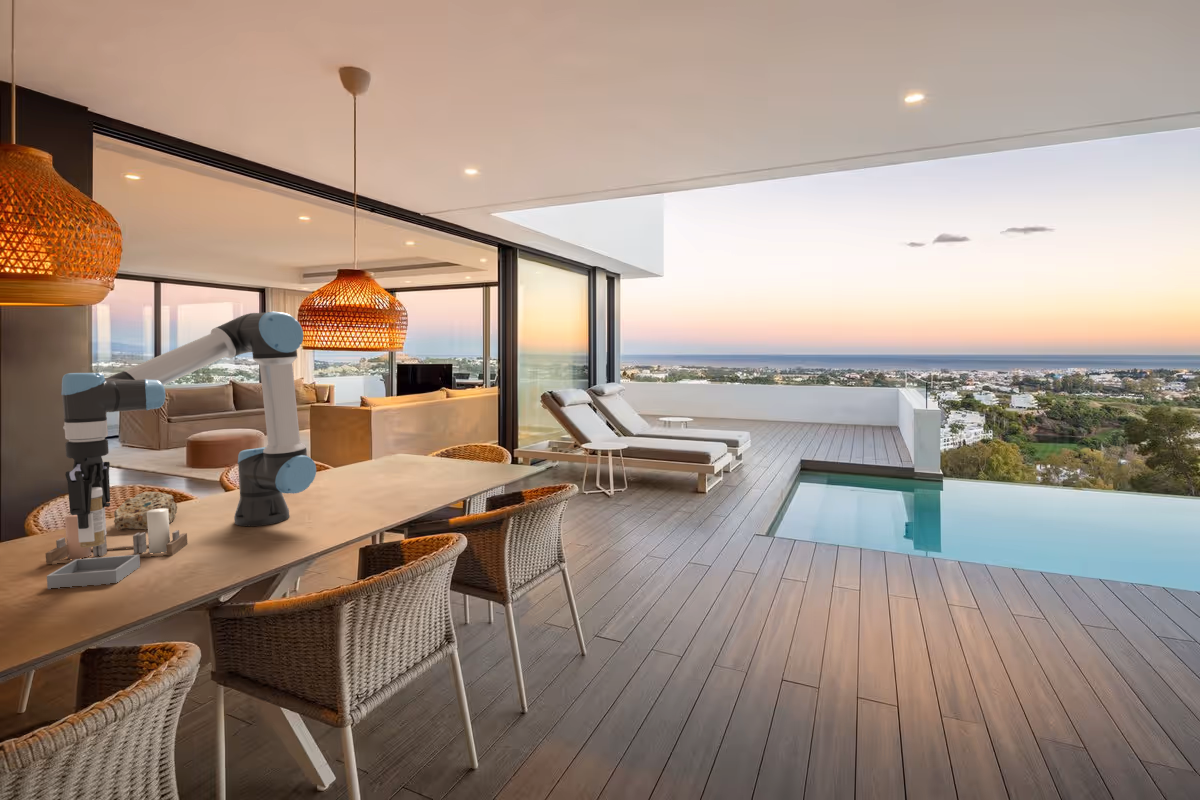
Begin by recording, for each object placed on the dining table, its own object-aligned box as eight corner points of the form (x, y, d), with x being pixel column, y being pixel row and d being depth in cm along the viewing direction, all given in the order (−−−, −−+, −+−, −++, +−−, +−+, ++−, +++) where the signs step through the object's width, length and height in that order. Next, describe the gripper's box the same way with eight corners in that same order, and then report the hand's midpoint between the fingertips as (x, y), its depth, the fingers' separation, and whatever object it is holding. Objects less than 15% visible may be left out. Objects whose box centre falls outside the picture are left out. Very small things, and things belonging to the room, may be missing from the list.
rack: (187, 543, 166) (186, 526, 166) (172, 555, 157) (171, 536, 157) (69, 552, 159) (68, 533, 159) (46, 564, 150) (44, 545, 150)
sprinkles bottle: (78, 545, 141) (74, 488, 140) (103, 540, 144) (99, 485, 143) (82, 549, 138) (78, 491, 137) (107, 544, 141) (104, 488, 140)
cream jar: (173, 547, 163) (171, 507, 162) (166, 553, 159) (163, 512, 158) (153, 549, 162) (151, 509, 161) (145, 554, 158) (143, 513, 157)
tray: (140, 566, 149) (139, 554, 148) (116, 583, 138) (115, 570, 138) (76, 571, 145) (75, 559, 145) (47, 589, 135) (46, 575, 134)
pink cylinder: (95, 553, 159) (92, 512, 158) (85, 558, 154) (82, 516, 153) (74, 554, 157) (71, 513, 157) (64, 560, 153) (60, 518, 152)
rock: (174, 530, 182) (161, 501, 180) (117, 547, 177) (103, 517, 174) (185, 507, 200) (174, 480, 198) (134, 522, 195) (122, 494, 192)
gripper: (88, 435, 146) (94, 528, 148) (43, 445, 130) (50, 551, 131) (124, 434, 148) (130, 526, 150) (84, 444, 132) (91, 548, 133)
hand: (92, 538), depth 141 cm, fingers closed on sprinkles bottle, 4 cm apart
